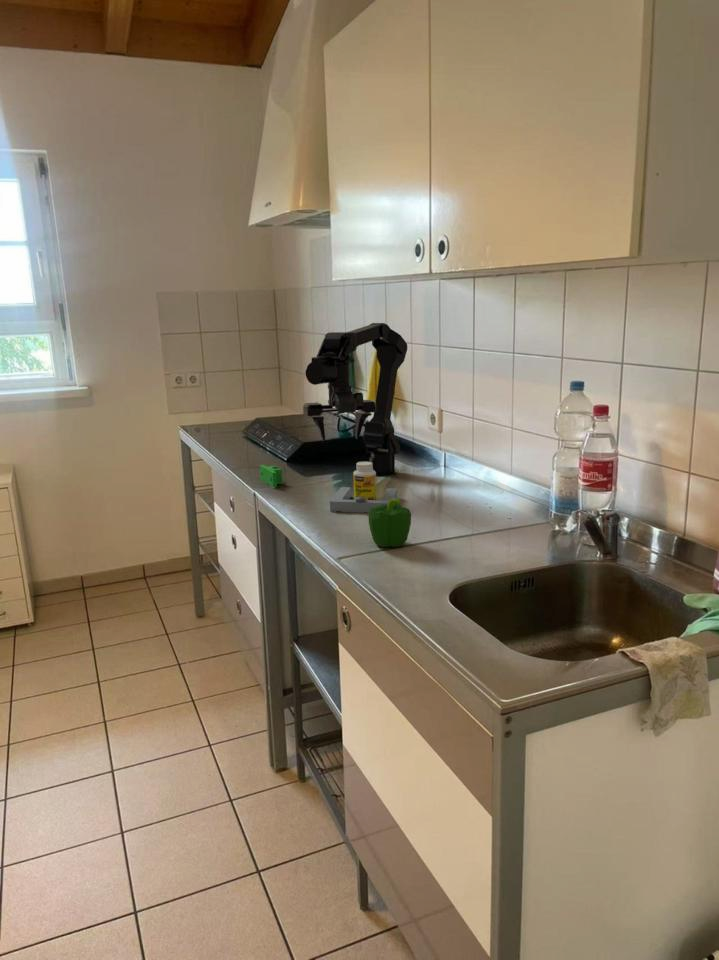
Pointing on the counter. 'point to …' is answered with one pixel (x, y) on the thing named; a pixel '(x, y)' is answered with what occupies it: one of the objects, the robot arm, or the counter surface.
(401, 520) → the bell pepper
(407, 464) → the counter surface
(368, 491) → the supplement bottle
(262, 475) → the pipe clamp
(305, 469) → the counter surface
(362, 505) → the housing cradle
